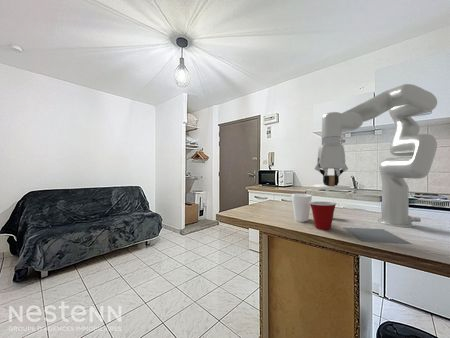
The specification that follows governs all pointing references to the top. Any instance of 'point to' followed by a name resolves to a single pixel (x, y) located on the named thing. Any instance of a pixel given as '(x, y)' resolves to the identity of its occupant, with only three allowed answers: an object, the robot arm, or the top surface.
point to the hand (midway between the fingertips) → (330, 184)
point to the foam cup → (301, 206)
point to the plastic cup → (323, 214)
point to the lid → (331, 185)
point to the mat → (375, 235)
